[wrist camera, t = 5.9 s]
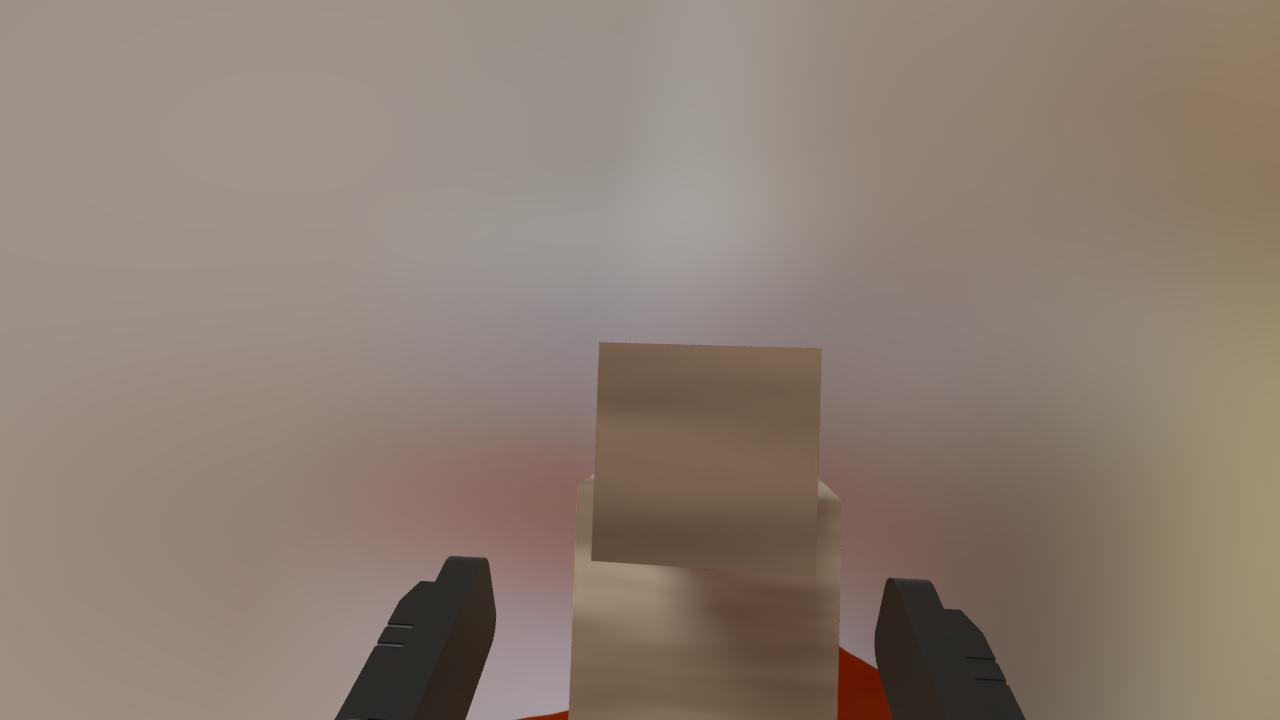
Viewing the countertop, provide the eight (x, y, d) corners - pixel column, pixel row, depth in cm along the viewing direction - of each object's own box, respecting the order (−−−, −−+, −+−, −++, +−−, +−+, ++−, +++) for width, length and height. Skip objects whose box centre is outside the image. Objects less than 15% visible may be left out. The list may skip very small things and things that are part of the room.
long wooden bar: (815, 576, 11) (821, 348, 11) (591, 561, 12) (599, 342, 12) (750, 451, 32) (752, 372, 32) (670, 448, 32) (673, 369, 33)
